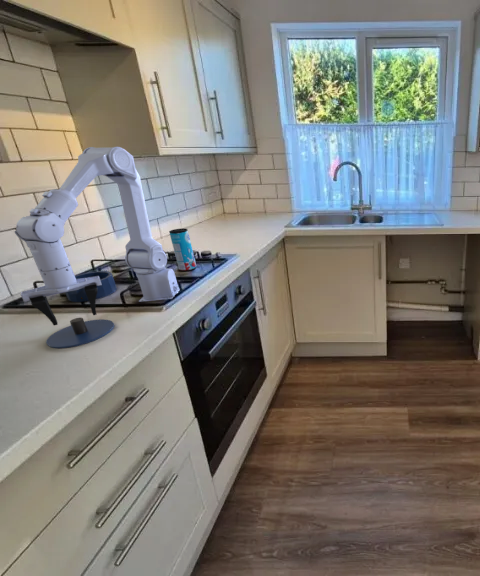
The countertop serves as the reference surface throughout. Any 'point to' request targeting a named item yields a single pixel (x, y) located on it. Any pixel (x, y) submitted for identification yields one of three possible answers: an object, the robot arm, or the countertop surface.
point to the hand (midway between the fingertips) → (75, 318)
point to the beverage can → (183, 249)
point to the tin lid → (80, 333)
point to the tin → (103, 290)
